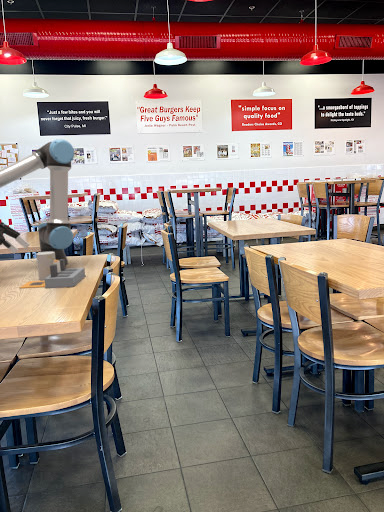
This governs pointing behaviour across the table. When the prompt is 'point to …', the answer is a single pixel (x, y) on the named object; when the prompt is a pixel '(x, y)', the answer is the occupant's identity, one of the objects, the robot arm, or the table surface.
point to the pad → (34, 284)
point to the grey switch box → (64, 276)
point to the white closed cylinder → (44, 263)
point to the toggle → (57, 265)
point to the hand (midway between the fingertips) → (22, 249)
